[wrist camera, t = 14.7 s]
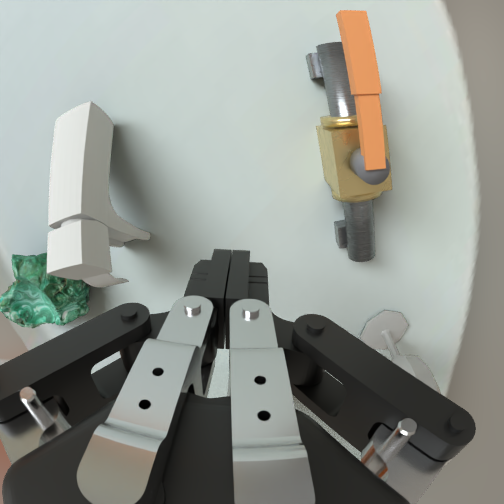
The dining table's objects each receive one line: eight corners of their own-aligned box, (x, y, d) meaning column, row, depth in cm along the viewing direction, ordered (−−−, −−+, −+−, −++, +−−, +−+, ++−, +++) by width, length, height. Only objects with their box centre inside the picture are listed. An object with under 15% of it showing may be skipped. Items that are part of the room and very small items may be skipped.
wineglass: (414, 319, 49) (463, 411, 30) (383, 352, 52) (417, 445, 34) (383, 301, 47) (433, 402, 28) (350, 337, 50) (381, 440, 32)
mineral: (65, 328, 51) (43, 362, 43) (11, 271, 46) (-18, 300, 37) (114, 282, 46) (88, 321, 37) (49, 211, 41) (11, 238, 32)
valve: (373, 237, 42) (393, 265, 35) (333, 245, 43) (347, 275, 35) (347, 48, 30) (369, 37, 23) (300, 53, 31) (311, 40, 24)
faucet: (91, 98, 29) (83, 267, 25) (149, 157, 45) (160, 286, 40) (53, 119, 30) (39, 279, 25) (116, 170, 46) (122, 293, 41)
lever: (379, 175, 30) (393, 184, 26) (351, 178, 30) (362, 188, 27) (358, 19, 22) (370, 11, 19) (327, 20, 23) (335, 10, 19)
